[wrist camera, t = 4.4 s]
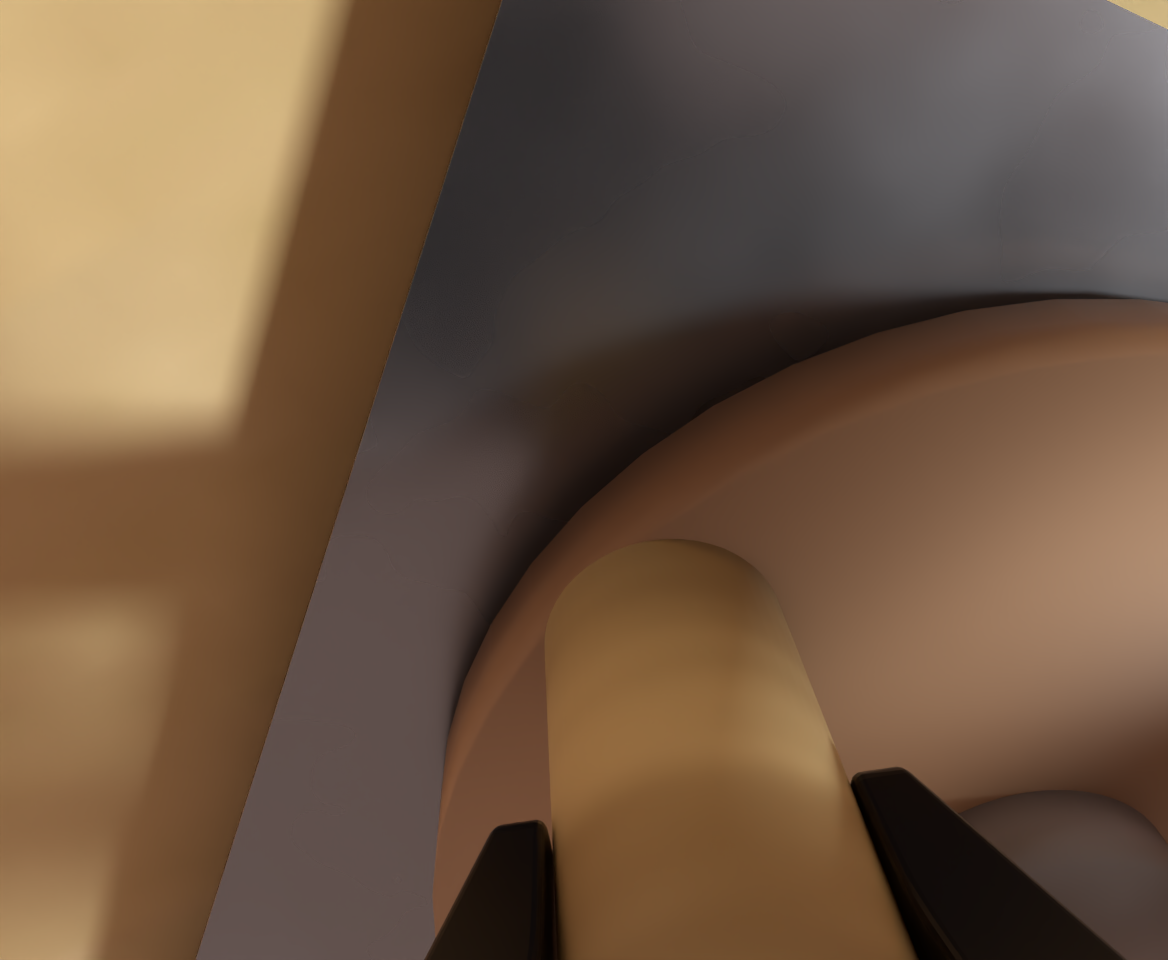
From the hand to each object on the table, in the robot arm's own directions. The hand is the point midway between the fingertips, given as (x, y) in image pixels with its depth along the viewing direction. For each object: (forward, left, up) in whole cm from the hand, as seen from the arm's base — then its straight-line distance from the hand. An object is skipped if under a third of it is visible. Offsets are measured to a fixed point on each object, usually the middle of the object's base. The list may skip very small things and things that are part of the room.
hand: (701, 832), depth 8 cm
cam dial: (-5, +2, -4) cm, 7 cm away
